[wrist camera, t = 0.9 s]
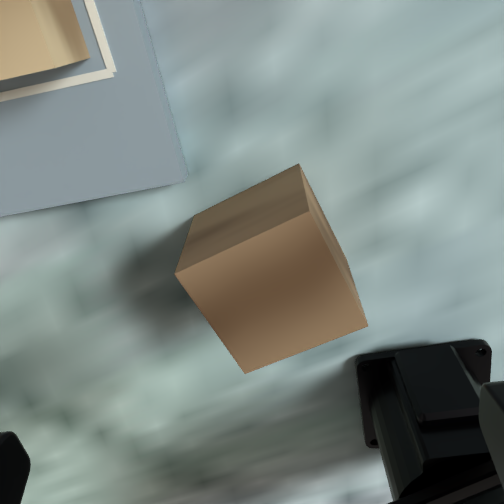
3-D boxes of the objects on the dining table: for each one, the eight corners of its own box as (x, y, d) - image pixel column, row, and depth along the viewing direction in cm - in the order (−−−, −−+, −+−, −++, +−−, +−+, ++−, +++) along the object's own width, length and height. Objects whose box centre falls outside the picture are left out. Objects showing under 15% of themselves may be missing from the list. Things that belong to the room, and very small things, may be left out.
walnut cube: (346, 258, 21) (368, 326, 16) (248, 300, 22) (244, 373, 17) (298, 162, 19) (309, 210, 14) (194, 214, 20) (174, 273, 15)
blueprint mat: (187, 173, 19) (184, 182, 18) (-33, 215, 20) (-47, 226, 19) (79, -216, 13) (65, -233, 12) (-217, -127, 14) (-250, -136, 13)
